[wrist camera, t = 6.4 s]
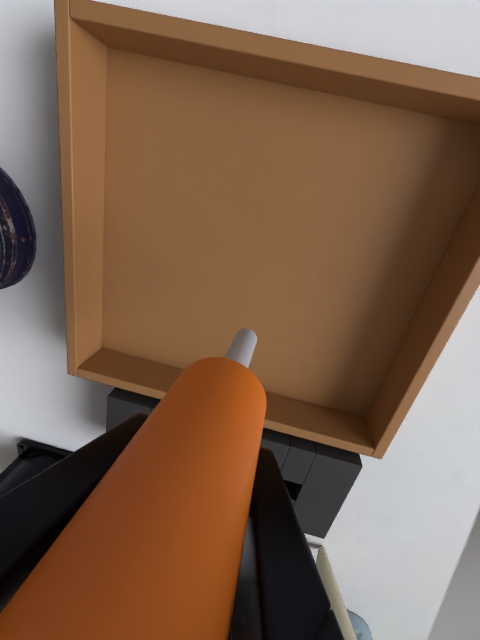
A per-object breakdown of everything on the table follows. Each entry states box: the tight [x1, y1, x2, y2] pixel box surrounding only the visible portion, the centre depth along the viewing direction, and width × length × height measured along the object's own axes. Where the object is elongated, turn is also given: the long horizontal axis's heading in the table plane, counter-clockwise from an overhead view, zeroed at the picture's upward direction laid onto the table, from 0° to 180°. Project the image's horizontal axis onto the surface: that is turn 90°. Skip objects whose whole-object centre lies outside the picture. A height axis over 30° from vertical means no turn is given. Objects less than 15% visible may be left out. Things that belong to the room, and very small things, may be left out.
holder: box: [106, 387, 362, 539], centre depth 23 cm, size 17×8×4 cm, turn 79°
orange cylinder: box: [0, 328, 266, 640], centre depth 8 cm, size 3×3×12 cm
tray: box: [54, 0, 480, 459], centre depth 18 cm, size 21×19×4 cm
